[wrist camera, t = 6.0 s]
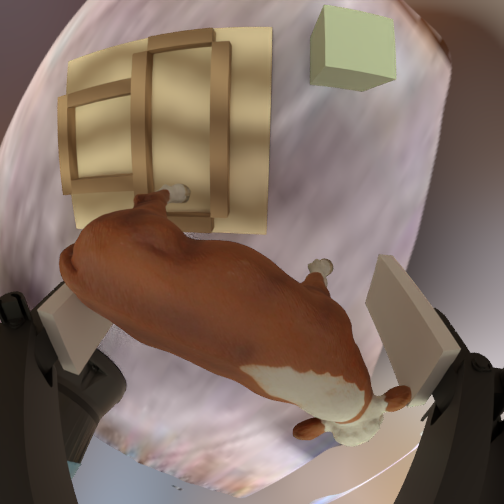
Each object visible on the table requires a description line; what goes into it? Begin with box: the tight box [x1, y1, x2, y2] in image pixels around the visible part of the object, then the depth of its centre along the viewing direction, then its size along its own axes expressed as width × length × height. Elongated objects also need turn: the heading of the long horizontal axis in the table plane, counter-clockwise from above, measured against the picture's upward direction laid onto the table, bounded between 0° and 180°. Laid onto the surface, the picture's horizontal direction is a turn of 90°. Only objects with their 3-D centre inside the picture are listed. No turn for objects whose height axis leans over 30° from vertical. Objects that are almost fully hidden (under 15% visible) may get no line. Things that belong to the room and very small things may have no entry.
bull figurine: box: [59, 184, 412, 446], centre depth 10 cm, size 4×14×8 cm, turn 58°
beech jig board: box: [58, 27, 272, 235], centre depth 23 cm, size 20×22×2 cm
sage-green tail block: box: [310, 5, 396, 92], centre depth 17 cm, size 5×5×8 cm
